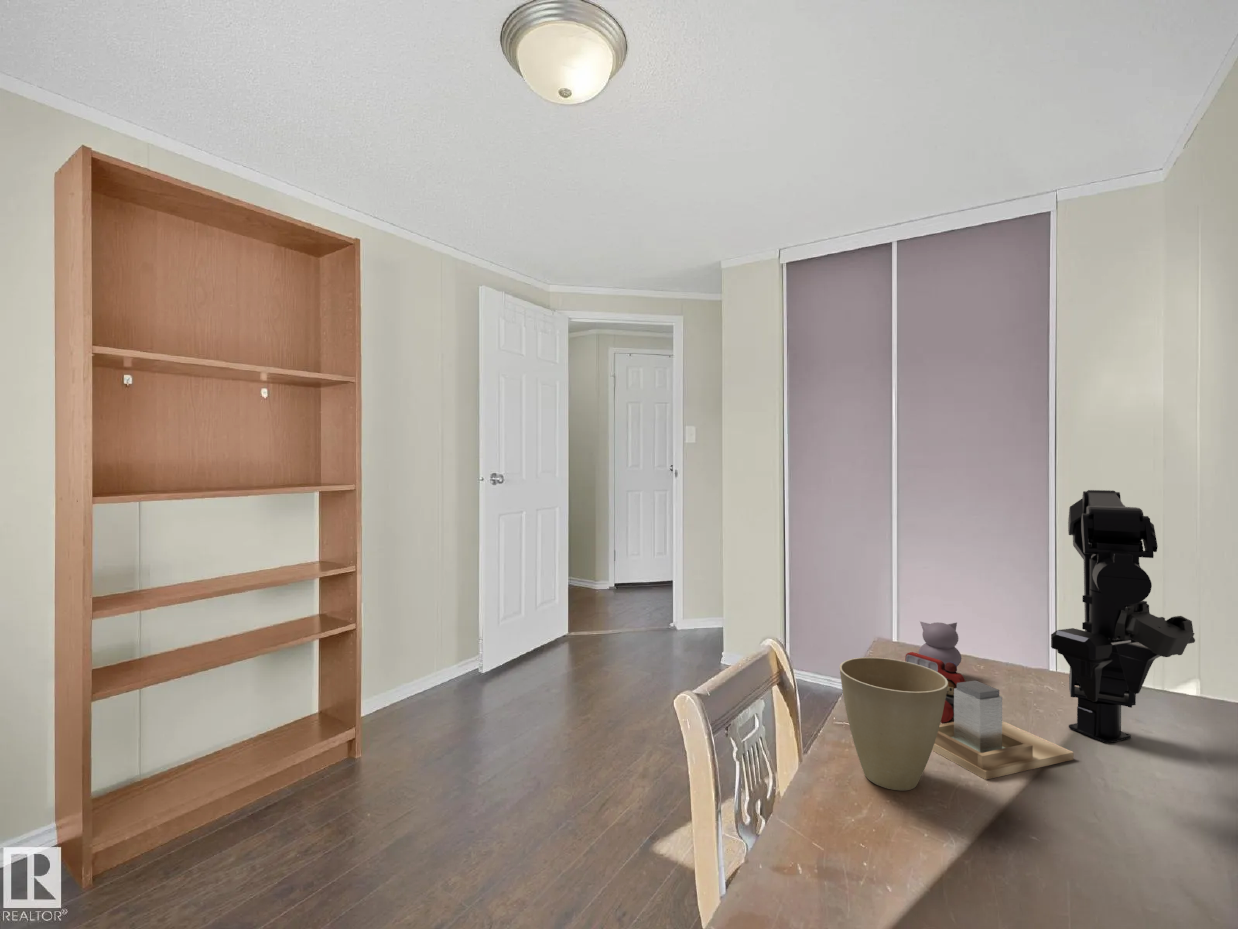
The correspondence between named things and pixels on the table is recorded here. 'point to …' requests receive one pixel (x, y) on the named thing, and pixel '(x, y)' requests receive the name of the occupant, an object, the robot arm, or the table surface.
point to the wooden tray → (1001, 752)
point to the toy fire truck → (945, 670)
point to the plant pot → (892, 717)
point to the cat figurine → (940, 642)
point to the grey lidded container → (978, 716)
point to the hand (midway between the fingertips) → (1113, 696)
